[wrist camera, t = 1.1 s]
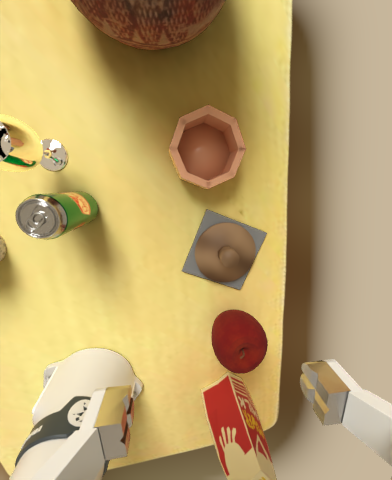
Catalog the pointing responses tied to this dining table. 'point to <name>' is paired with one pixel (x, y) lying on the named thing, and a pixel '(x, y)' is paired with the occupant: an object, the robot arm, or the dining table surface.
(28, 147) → the wineglass
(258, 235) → the mat
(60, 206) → the soda can
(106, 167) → the dining table surface
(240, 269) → the lid
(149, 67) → the dining table surface
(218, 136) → the bowl
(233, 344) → the apple
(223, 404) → the milk carton
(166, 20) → the jug
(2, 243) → the mug
